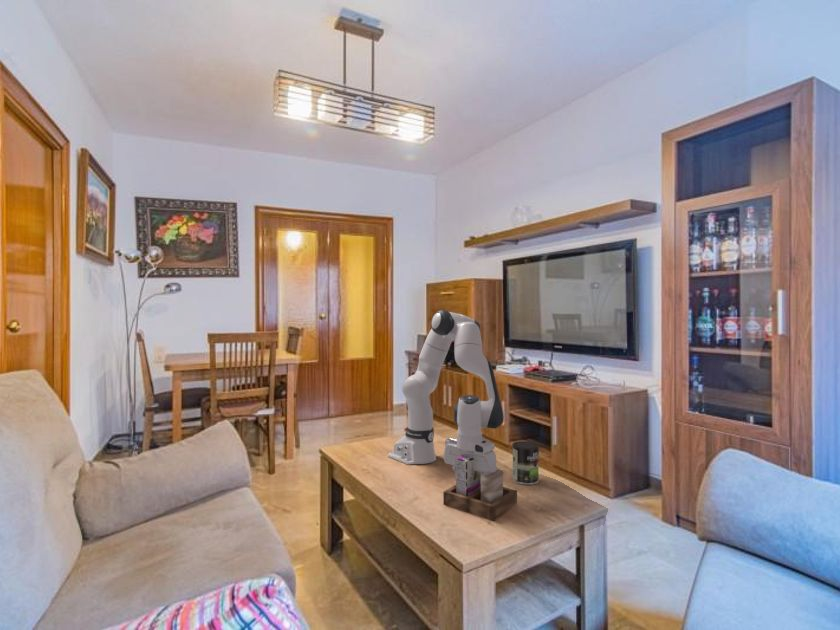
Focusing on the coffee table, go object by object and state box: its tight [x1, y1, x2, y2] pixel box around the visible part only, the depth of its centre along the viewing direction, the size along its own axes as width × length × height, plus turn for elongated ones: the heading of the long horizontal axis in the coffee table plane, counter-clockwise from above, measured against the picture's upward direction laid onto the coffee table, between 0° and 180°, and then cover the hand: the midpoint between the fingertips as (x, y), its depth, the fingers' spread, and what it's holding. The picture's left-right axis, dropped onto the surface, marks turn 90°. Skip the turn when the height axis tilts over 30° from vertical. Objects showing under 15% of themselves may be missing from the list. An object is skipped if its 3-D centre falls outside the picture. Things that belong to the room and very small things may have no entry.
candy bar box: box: [455, 455, 481, 497], centre depth 165 cm, size 11×5×16 cm, turn 142°
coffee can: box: [511, 440, 540, 486], centre depth 185 cm, size 10×10×14 cm
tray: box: [442, 468, 518, 522], centre depth 163 cm, size 20×17×12 cm
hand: (469, 480), depth 165 cm, fingers open, 8 cm apart
